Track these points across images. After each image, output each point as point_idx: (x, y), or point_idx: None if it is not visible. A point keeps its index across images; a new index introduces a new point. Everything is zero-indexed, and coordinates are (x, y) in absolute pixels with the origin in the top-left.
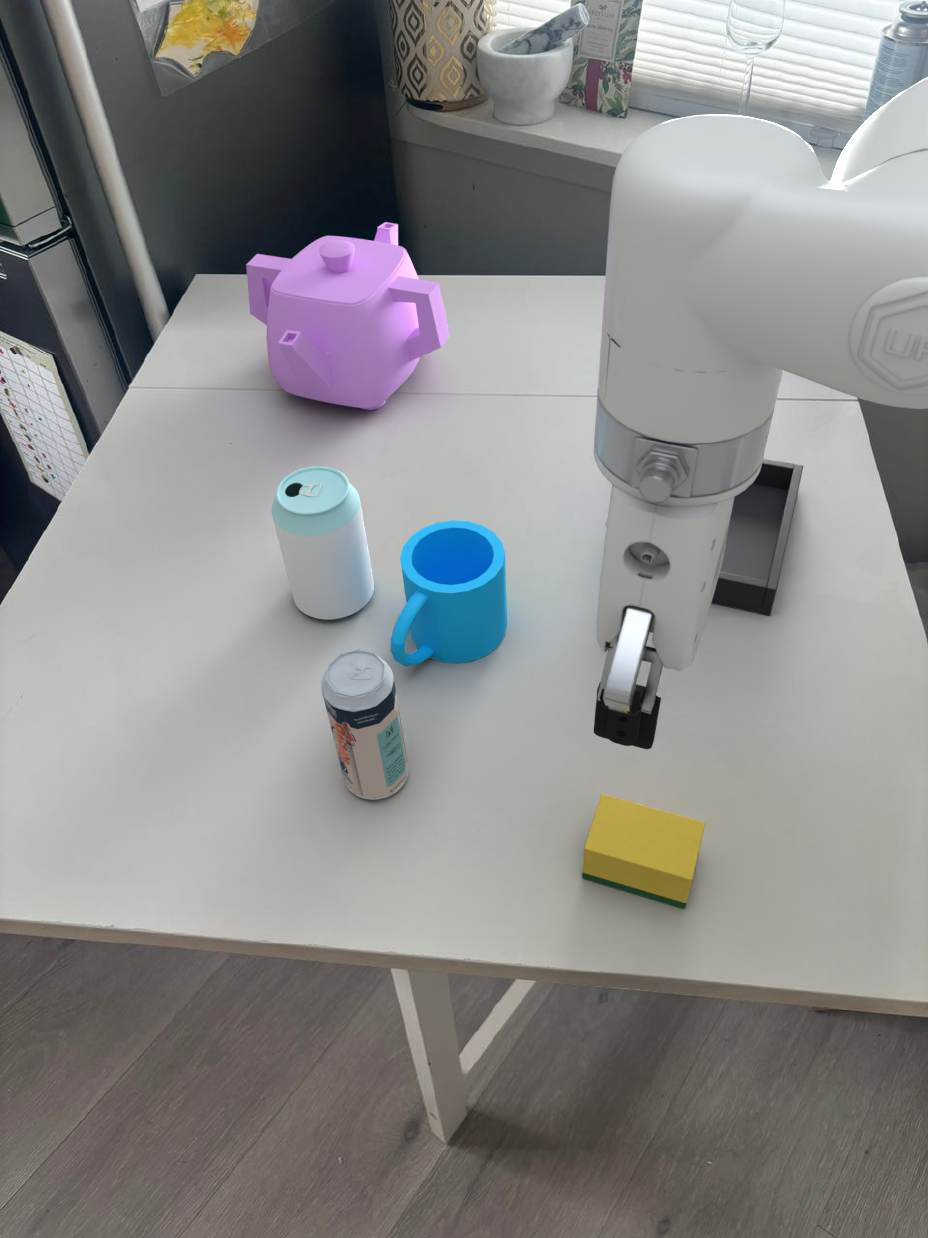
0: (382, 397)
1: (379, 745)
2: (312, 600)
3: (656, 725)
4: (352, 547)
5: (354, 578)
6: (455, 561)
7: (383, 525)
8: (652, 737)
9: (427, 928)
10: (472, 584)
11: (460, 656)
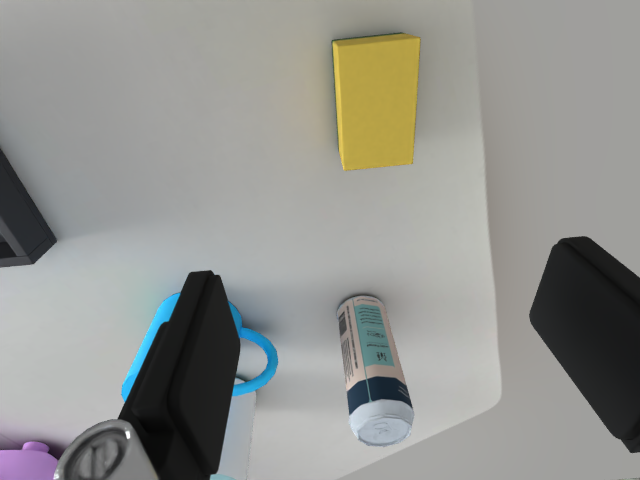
0: (30, 456)
1: (391, 353)
2: (253, 410)
3: (608, 272)
4: None
5: None
6: None
7: None
8: (611, 258)
9: (471, 233)
10: None
11: (232, 312)
